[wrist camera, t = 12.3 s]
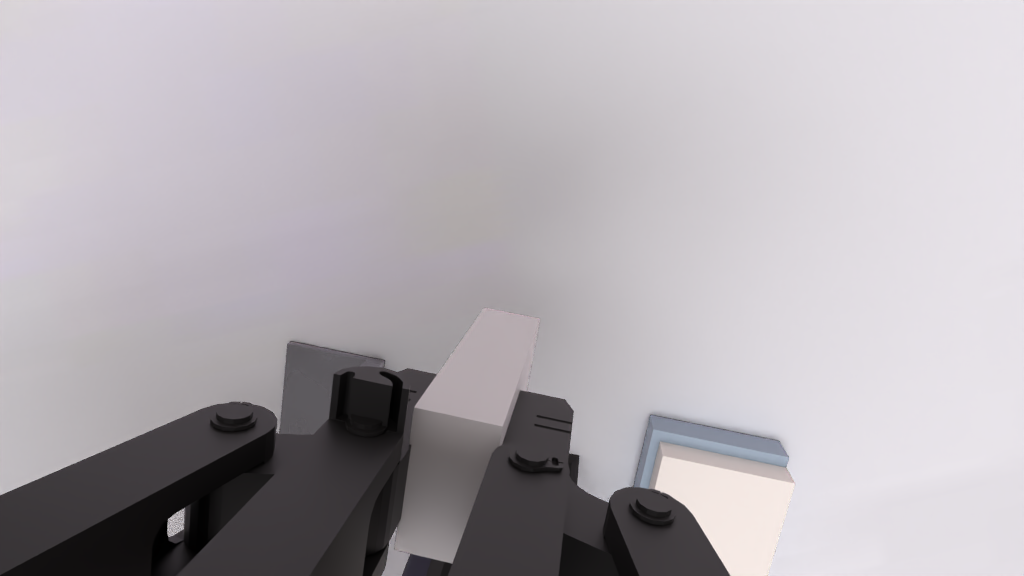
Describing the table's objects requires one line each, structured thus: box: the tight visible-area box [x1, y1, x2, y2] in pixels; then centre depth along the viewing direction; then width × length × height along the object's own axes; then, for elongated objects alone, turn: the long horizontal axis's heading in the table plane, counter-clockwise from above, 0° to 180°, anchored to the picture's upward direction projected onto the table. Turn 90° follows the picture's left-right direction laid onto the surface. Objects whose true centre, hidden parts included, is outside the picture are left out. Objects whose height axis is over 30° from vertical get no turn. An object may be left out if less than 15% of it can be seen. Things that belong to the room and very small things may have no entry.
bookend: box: [280, 341, 385, 435], centre depth 33 cm, size 5×14×3 cm, turn 170°
